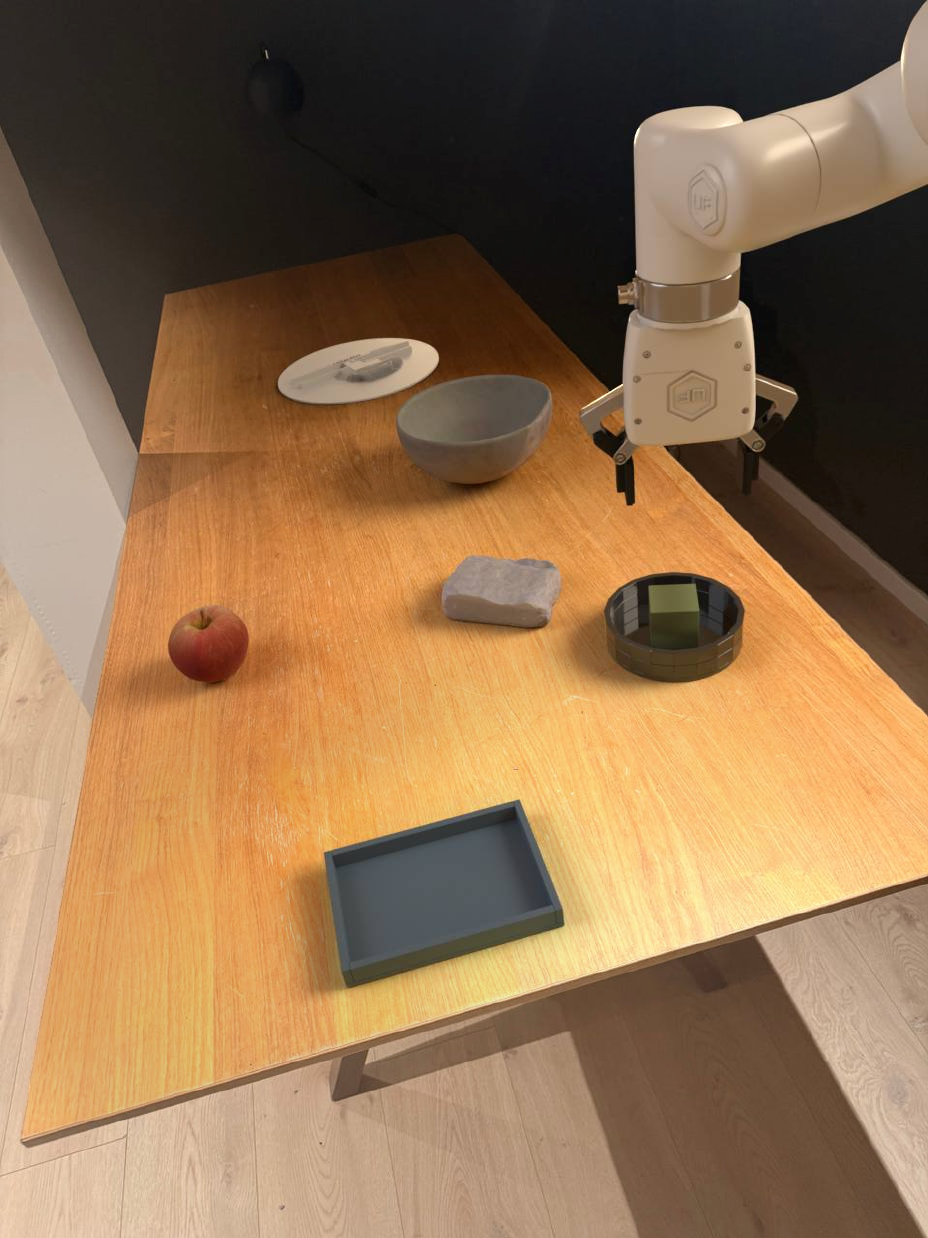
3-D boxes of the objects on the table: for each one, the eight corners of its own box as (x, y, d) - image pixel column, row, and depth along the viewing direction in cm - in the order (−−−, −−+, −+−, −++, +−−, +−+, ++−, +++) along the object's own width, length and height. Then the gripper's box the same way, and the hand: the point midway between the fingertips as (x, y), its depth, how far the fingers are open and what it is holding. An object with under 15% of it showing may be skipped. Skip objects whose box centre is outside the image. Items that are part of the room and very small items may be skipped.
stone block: (468, 585, 109) (437, 622, 101) (467, 546, 107) (435, 581, 99) (569, 598, 105) (545, 637, 97) (570, 557, 103) (546, 594, 95)
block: (694, 620, 95) (695, 583, 92) (698, 648, 92) (699, 610, 89) (649, 621, 96) (648, 585, 93) (651, 649, 92) (650, 612, 90)
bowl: (438, 435, 139) (428, 369, 133) (574, 441, 131) (569, 372, 126) (382, 504, 124) (367, 434, 118) (531, 515, 117) (523, 441, 111)
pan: (764, 621, 94) (766, 592, 92) (706, 699, 86) (707, 669, 84) (645, 587, 102) (644, 560, 100) (581, 656, 94) (579, 628, 92)
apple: (273, 655, 100) (253, 593, 96) (227, 703, 95) (203, 640, 90) (214, 641, 104) (192, 581, 99) (166, 687, 98) (141, 625, 94)
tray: (521, 815, 78) (519, 798, 77) (564, 926, 69) (563, 908, 68) (328, 868, 76) (323, 852, 75) (347, 988, 67) (341, 972, 66)
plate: (394, 327, 179) (393, 321, 178) (468, 367, 158) (467, 360, 157) (255, 372, 169) (253, 365, 169) (315, 420, 149) (313, 413, 148)
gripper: (574, 323, 70) (587, 524, 80) (818, 296, 68) (799, 505, 78) (570, 291, 76) (582, 481, 86) (794, 265, 74) (779, 463, 84)
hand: (685, 492), depth 82 cm, fingers open, 9 cm apart
